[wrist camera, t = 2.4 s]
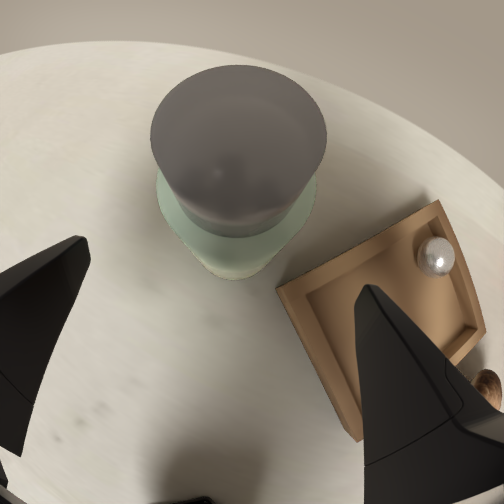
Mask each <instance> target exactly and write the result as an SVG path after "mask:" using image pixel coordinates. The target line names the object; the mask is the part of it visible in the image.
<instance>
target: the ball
mask: <svg viewBox="0 0 504 504" xmlns="http://www.w3.org/2000/svg"><path fill="white" fill-rule="evenodd" d="M454 261H455V254H454V250H453V247H452V245H451V244H450V243H449V242H448V241H447V240H446V239H444V238H442V237H438V236H434V237H430V238H428V239H426V240H425V241H424V242H423V243H422V244H421V245H420V247H419V249H418V253H417V262H418V266H419V268H420V270H421V271H422V272H423V273H424V274H425V275H426V276H428V277H430V278H434V279H436V278H442V277H444V276H446V275H447V274H448V273H449V272H450V271H451V269H452V267H453V265H454Z"/></svg>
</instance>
